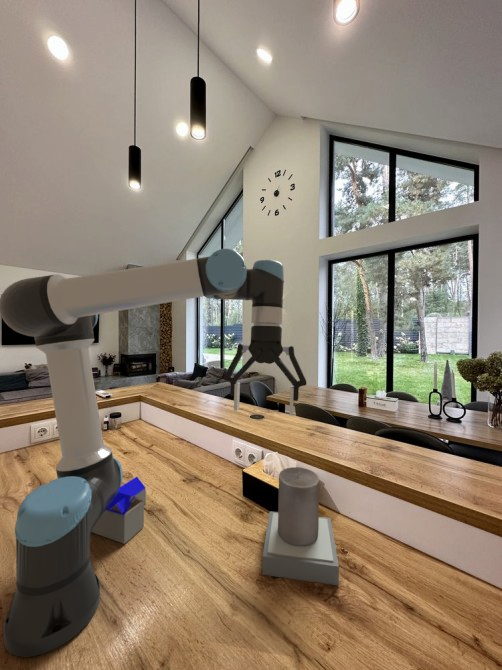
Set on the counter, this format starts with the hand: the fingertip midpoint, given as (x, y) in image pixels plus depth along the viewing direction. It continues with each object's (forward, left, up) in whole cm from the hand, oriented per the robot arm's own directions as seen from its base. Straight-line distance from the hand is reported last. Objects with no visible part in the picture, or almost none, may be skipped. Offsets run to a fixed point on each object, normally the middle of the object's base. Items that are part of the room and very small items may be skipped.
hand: (263, 411), depth 72 cm
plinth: (-1, -9, -33) cm, 34 cm away
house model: (+4, +44, -33) cm, 56 cm away
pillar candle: (0, -9, -29) cm, 30 cm away
